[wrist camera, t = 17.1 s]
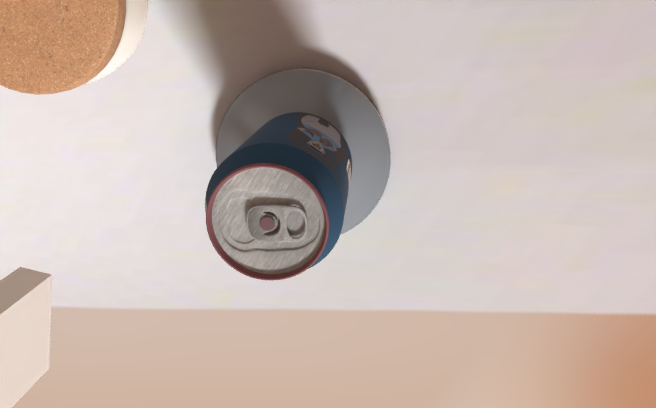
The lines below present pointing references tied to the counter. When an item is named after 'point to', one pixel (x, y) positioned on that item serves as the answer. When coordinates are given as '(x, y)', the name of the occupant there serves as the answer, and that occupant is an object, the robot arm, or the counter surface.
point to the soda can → (280, 197)
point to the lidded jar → (66, 41)
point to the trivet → (330, 104)
